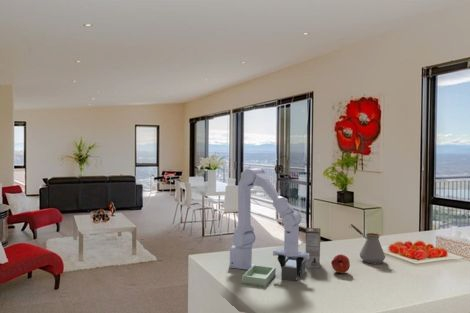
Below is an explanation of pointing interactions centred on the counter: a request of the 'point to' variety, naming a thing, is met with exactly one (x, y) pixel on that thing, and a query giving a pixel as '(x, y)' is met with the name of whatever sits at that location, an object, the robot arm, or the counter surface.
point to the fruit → (340, 263)
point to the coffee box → (313, 247)
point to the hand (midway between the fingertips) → (290, 274)
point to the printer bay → (303, 265)
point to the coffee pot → (371, 248)
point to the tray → (259, 275)
